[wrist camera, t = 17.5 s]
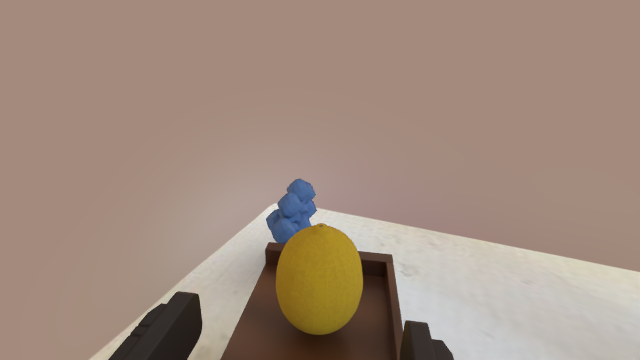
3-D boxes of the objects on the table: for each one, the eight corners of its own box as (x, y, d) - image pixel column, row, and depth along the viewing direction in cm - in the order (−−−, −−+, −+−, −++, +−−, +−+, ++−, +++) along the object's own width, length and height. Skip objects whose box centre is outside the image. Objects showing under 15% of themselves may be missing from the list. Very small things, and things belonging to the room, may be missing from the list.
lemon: (262, 320, 22) (258, 218, 20) (325, 289, 26) (329, 198, 23) (306, 381, 18) (310, 264, 15) (374, 336, 22) (388, 232, 19)
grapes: (283, 235, 52) (282, 165, 48) (323, 243, 50) (326, 171, 46) (247, 279, 42) (242, 194, 37) (295, 291, 40) (296, 203, 36)
